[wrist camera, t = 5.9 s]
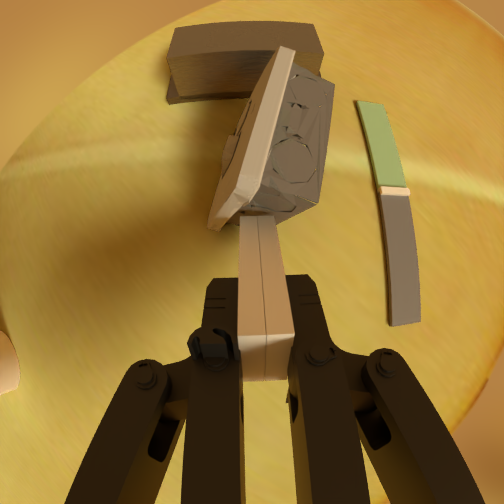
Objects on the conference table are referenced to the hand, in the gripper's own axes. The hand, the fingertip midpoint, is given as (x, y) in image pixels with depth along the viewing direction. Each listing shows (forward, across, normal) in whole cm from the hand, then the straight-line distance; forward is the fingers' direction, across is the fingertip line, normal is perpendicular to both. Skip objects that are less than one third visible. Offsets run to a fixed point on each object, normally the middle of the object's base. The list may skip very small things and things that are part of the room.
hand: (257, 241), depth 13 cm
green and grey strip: (+5, +10, 0) cm, 11 cm away
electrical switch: (+6, 0, +1) cm, 6 cm away
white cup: (-4, -23, -9) cm, 25 cm away
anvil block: (+12, 0, +7) cm, 14 cm away
